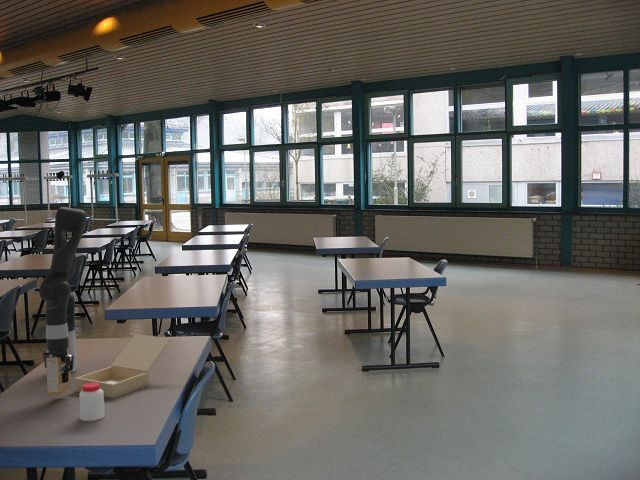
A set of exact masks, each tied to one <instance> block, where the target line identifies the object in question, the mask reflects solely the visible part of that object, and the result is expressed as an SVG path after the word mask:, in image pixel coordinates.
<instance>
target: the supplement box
mask: <svg viewBox="0 0 640 480" xmlns="http://www.w3.org/2000/svg"><path fill="white" fill-rule="evenodd" d="M68 355H70V354H69V353H68ZM60 364H65V362H62V361H61V358H60V357H58V358H57V357H55V356H54V357H49V358H46V366H47V368H46V380H47V381H46V385H47V394H49V395H60V394H62V393H63V392H64V393H65V392H66V391H67V390H69V389H71V388H72V375H71V373H72V372H71V371H69V381H68V382H67V383H62V371H61V367H60ZM69 368H70V366H69ZM64 369H65V366H64Z"/></svg>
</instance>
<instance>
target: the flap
mask: <svg viewBox="0 0 640 480" xmlns="http://www.w3.org/2000/svg"><path fill="white" fill-rule="evenodd" d="M171 340H172V338H171V337H163V336H155V335H147V334H140V333H135V334H134V335H133V337H132V338H131V339H130V341H129V342H128V343H127V344H126V346H125V347H124V348H123V350H122V351H121V352H120V353H119V354H118V356H117V357H116V359H115V360H114V361H113V362H112V364H111V366H110V367H117V368H123V369H130V370H136V371H143V372H148V373H149V370H150V369H151V368H152V366H153V365H154V363H155V362H156V361H157V359H158V358H159V356H160V355H161V354H162V353H163V351H164V350H165V348H166V347H167V346H168V344H169V343H170V342H171Z"/></svg>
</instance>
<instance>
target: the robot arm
mask: <svg viewBox="0 0 640 480" xmlns="http://www.w3.org/2000/svg"><path fill="white" fill-rule="evenodd" d="M86 223H87V213H86V211H85V210H82V209H77V208H71V207H66V206H61V207H60V206H59V208H57V211H56V213H55V219H54V237H53V238H54V239H53V250H52V255H51V264H50V267H49V270H48V272H47V274H46V276H45V277H44V279H43V280H42V282H41V284H40V286H39V290H38V294H39V297H40V299H41V300H43V301H45V307H46V308H45V309H46V310H45V319H46V320H45V326H46V328H45V339H46V350H47V351H43V353H42V357H43V361H44V362H43V363H44V368H45V369H47V366H46V358H49V357H54V356H55V357H57V358H58V357H60V358H61V361H62V362H65V364H60V367H61V371H62V383H67V382H68V381H69V371H71V373H75V372H76V371H77V370H78V363H77V361H78V360H77V342H76V337H77V336H76V300H75V299H76V298H75V295H74V293H73V292H72V288H71V287H72V286H71V285H70V283H69V281H70V280H71V278H72V277H73V276H74V274H75V272H76V267H77V255H76V253H77V249H78V247H79V245H80V242H81V240H82V237H83V234H84V231H85V227H86ZM65 232H66V233H73V234H72V236H71V237H70V238H69V239H67V236H66V234H65ZM68 353H69V354H70V355H68ZM64 366H65V369H64ZM69 366H70V368H69Z"/></svg>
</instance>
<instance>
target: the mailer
mask: <svg viewBox="0 0 640 480" xmlns="http://www.w3.org/2000/svg"><path fill="white" fill-rule="evenodd" d="M149 376H150V375H149V371H148V372H145V371H138V370H132V369H126V368H119V367H113V366H109V367H106V368H103V369H100V370H99V369H98V370H96V371H94V372H93V371H92V372H90V373H86V374H84V375H80V376H76V377H75V378H74V383H75V384H74V386H75V391H76V392H79V393H80V392H81V391H82V390H83V388H82V386H83V385H84V384H87V383H99V384H100V388H101V389H102V390H103V391H104V397H105V396H106V398H110V397H111V398H110V399H115V397H116V398H118V397H120V395H121V396H123V394H124V395H125V394H128V393H131V391H132V392H134V391H137V390H140V389H142V388H145V387H148V386H149V385H150V380H149ZM147 385H148V386H147ZM144 386H145V387H144ZM139 388H140V389H139Z"/></svg>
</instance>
